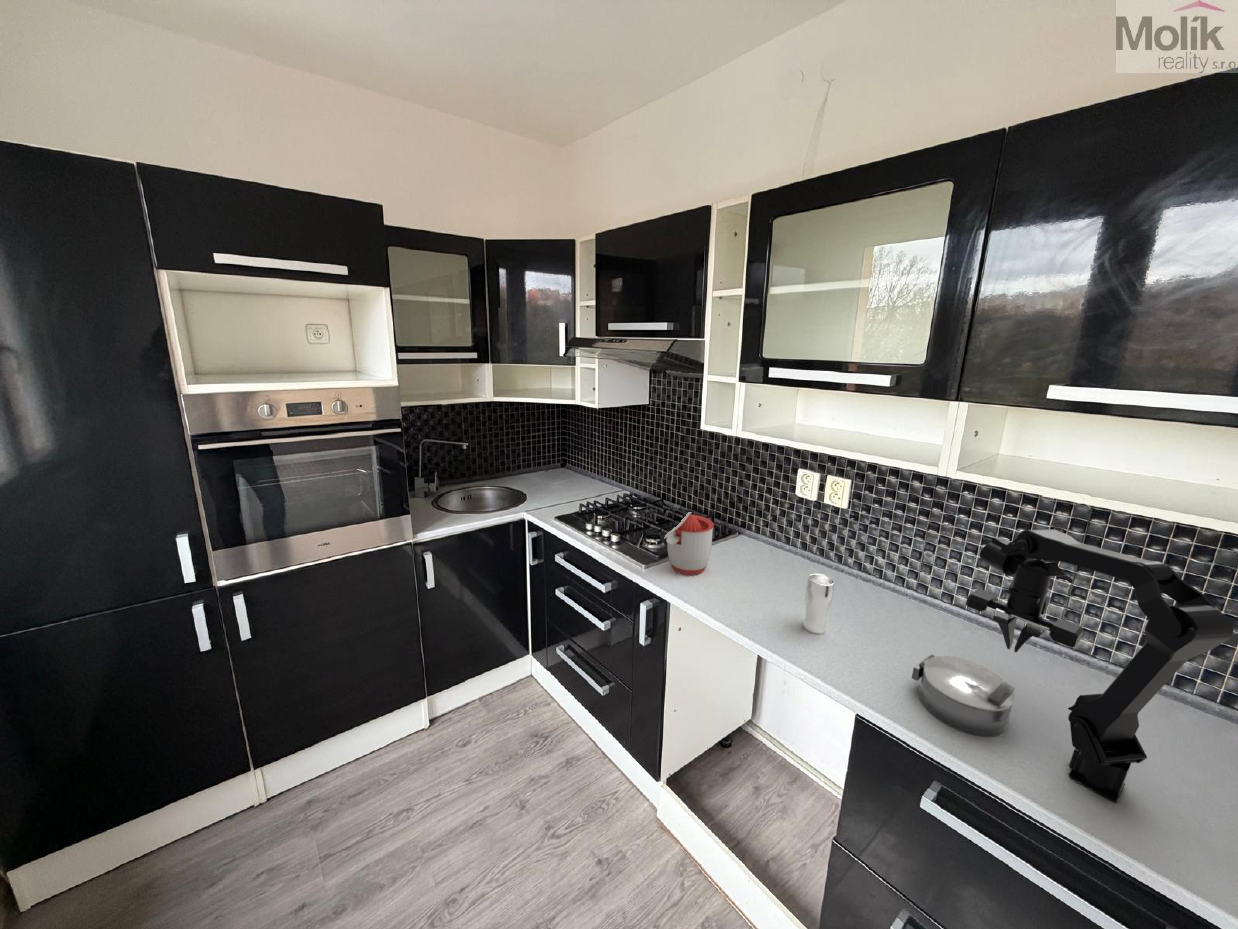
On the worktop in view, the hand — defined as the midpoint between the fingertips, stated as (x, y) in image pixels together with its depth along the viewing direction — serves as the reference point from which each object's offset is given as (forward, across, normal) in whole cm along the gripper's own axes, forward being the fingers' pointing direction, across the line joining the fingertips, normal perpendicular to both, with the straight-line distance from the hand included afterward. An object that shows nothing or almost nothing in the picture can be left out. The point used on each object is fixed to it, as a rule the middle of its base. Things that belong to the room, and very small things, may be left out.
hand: (1012, 650), depth 105 cm
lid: (+7, +4, +10) cm, 13 cm away
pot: (+13, +4, +10) cm, 17 cm away
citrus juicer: (+13, +86, +16) cm, 88 cm away
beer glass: (+13, +40, +10) cm, 43 cm away
